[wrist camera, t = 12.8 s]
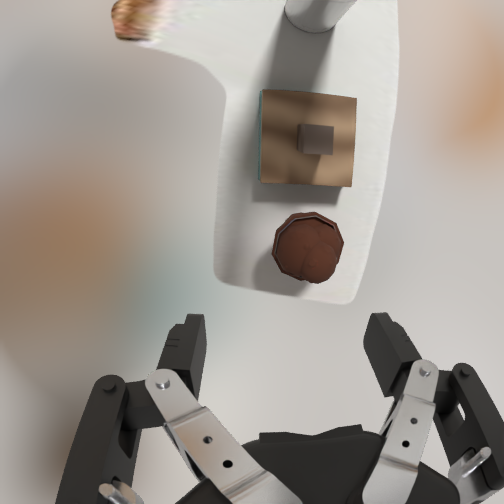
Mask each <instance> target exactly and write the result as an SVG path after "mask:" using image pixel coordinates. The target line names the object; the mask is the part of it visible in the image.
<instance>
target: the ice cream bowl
mask: <svg viewBox="0 0 504 504" xmlns="http://www.w3.org/2000/svg"><path fill="white" fill-rule="evenodd" d="M343 245H344V241H343V239H342V236H341V234H340V231H339V229H338V226H337V224H336V223H335V222H333V221H331V220H329V219H328V218H326V217H324V216H322V215H320V214H318V213H316V212H309V213H296V214H292V215H291V216H290V217H289V218H288V219H287V220H286V221H285V222H284V223H283V224H282V225H281V226H280V227H279V228H278V229H277V230H276V234H275V239H274V244H273V250H272V256H273V257H274V259H275V261H276V263H277V265H278V267H279V269H280V270H281V272H282V273H284V274H287V275H289V276H291V277H293V278H296V279H298V280H300V281H302V280H306V281H309V282H310V283H316V284H319V283H321V282H324V281H326V280H328V279H329V278H330V277H331V276H332V274H333V273H334V271H335V268H336V265H337V264H338V262H339V259H340V255H341V252H342V248H343Z"/></svg>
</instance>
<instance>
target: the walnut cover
mask: <svg viewBox="0 0 504 504" xmlns="http://www.w3.org/2000/svg"><path fill="white" fill-rule="evenodd" d="M356 106H357V98H351V97H344V96H337V95H329V94H321V93H311V92H300V91H286V90H265V89H263V90H262V109H261V158H260V182H261V183H285V184H309V185H327V186H342V187H351V186H352V175H353V163H354V149H355V132H356Z"/></svg>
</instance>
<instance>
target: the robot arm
mask: <svg viewBox="0 0 504 504" xmlns="http://www.w3.org/2000/svg"><path fill="white" fill-rule="evenodd" d="M356 1H357V0H287V1H286V4H285V13H286V16H287V18H288V19H289V21H290V22H291V23H292V24H293V25H295V26H296V27H297V28H299V29H301V30H304V31H306V32H311V33H321V32H325V31H328V30H329V29H331V28H332V27H333V26H334V25H335V24H336V23H337V22H338V21H339V20H340V18H341V17H342V16H343V15H344V14H345V13H346V12H347V11H348V10H349V9H350V7H351V6H352V5H353V4H354V3H355V2H356ZM206 342H207V341H206V330H205V320H204V315H203V314H187V317H186V320H185V323H184V324H176V325H175V326H174V327H173V328H172V329H171V330H170V331H169V334H168V337H167V340H166V342H165V346H164V348H163V351H162V354H161V357H160V360H159V363H158V366H157V369H156V370H155V371H153V372H151V373H150V374H149V375H148V376H147V378H146V379H145V380H142V381H137V382H129V383H125V382H124V380H123V379H122V378H121V377H119V376H117V375H106V376H103V377H101V378H100V379H98V380H97V381H96V383H95V384H94V387H93V389H92V392H91V394H90V397H89V399H88V402H87V405H86V407H85V410H84V413H83V415H82V418H81V421H80V423H79V426H78V429H77V432H76V435H75V438H74V441H73V444H72V447H71V450H70V453H69V456H68V459H67V463H66V466H65V469H64V473H63V476H62V480H61V483H60V487H59V491H58V494H57V498H56V503H55V504H144V502H143V500H142V498H141V497H140V496H139V495H137V493H136V492H134V491H133V490H132V489H131V487H132V481H133V475H134V469H135V463H136V458H137V452H138V447H139V442H140V436H141V432H142V429H144V428H152V427H159V426H162V427H163V429H164V430H165V432H166V433H167V435H168V436H169V438H170V440H171V441H172V443H173V444H174V446H175V447H176V449H177V450H178V452H179V453H180V455H181V456H182V458H183V460H184V461H185V463H186V465H187V466H188V468H189V469H190V471H191V472H192V473H193V475H194V476H195V477H196V479H197V480H198V481H199V483H198V484H197V485H196V486H195V487H194V488H193V489H192V490H191V491H190V492H188V493H187V494H186V495H185V496H184V497H182V498H181V499H180V500H179V501H178V502H176V503H175V504H479V503H481V502H483V501H484V500H486V499H487V498H489V497H490V496H492V495H493V494H495V493H496V492H498V491H499V490H500V489H502V488H503V487H504V422H503V420H502V418H501V416H500V414H499V412H498V410H497V408H496V406H495V404H494V403H493V401H492V399H491V397H490V396H489V394H488V392H487V390H486V388H485V387H484V385H483V383H482V382H481V380H480V378H479V377H478V375H477V373H476V371H475V370H474V369H473V367H471V366H470V365H468V364H466V363H458V364H456V365H455V366H454V367H453V369H452V371H444V370H438V368H437V366H436V365H435V364H434V363H432V362H431V361H428V360H423V359H422V358H421V356H420V354H419V353H418V351H417V349H416V348H415V346H414V345H413V343H412V341H411V340H410V338H409V336H407V333H406V332H405V330H404V328H403V327H402V326H400V325H399V324H398V323H396V322H393V321H392V320H391V318H390V316H389V315H388V313H386V312H384V313H372V314H371V316H370V319H369V322H368V325H367V329H366V332H365V335H364V341H363V343H364V349H365V352H366V354H367V356H368V359H369V361H370V363H371V366H372V368H373V370H374V372H375V375H376V378H377V380H378V382H379V385H380V387H381V390H382V392H383V395H384V397H389V396H394V401H393V403H392V405H391V407H390V410H389V412H388V415H387V417H386V419H385V421H384V424H383V426H382V428H381V430H380V432H379V434H376V433H373V432H369V431H363V429H362V426H361V424H359V425H353V426H345V427H338V428H335V429H332V430H329V431H326V432H323V433H321V434H318V435H313V436H311V435H303V434H295V433H289V432H270V433H260V434H259V439H258V440H254V441H251V442H248V443H246V444H243V445H240V444H239V443H238V442H237V441H236V440H235V438H234V437H233V436H232V435H231V434H230V433H229V432H228V431H227V429H226V428H225V427H224V426H223V425H222V424H221V422H220V421H219V420H218V419H217V418H216V417H215V416H214V414H213V413H212V412H211V411H210V409H209V408H207V407H206V406H204V407H202V406H201V405H200V404H199V403H198V397H199V391H200V385H201V379H202V373H203V367H204V361H205V355H206V345H207V343H206ZM459 403H460V404H461V406H462V408H463V411H464V413H465V420H463V417H462V415H461V413H460V411H459V409H458V407H457V406H458V404H459ZM432 419H433V420H434V423H435V425H436V428H437V431H438V433H439V436H440V439H441V441H442V444H443V447H444V450H445V452H446V455H447V458H448V461H449V464H450V469H449V473H448V478H446V477H445V476H443V475H441V474H439V473H438V472H436V471H435V470H433V469H432V468H430V467H428V466H427V465H425V464H424V463H422V462H421V461H420V459H421V456H422V453H423V449H424V447H425V444H426V440H427V437H428V434H429V430H430V426H431V423H432Z"/></svg>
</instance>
